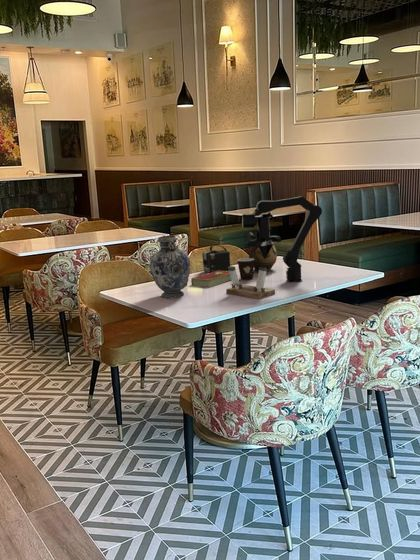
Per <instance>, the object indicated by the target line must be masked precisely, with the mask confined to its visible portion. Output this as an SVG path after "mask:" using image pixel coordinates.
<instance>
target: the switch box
mask: <svg viewBox="0 0 420 560" xmlns="http://www.w3.org/2000/svg"><path fill="white" fill-rule="evenodd" d="M226 294H229V295H233V296H234V295H235V296H240V297H243V298H244V297H245V298H252V299H256V300H260V299H264V298H266V297H269V296H272V295H273V296H274V295H275V294H276V290H275V289H273V288H269V287H268V288H266V287H263V288H262V289H258V288H256V285H249V284H240V285H239V286H233V283H232V284H231V287H229V288H226Z"/></svg>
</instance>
